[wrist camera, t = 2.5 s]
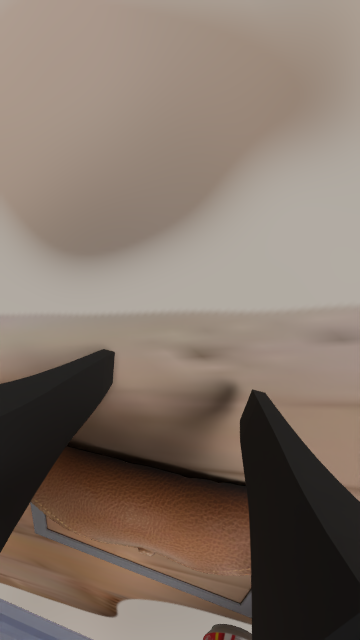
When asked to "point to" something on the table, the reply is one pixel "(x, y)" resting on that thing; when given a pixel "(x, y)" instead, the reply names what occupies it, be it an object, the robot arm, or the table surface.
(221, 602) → the taped bay
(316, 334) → the table surface
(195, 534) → the sunglasses case
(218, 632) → the soda can
